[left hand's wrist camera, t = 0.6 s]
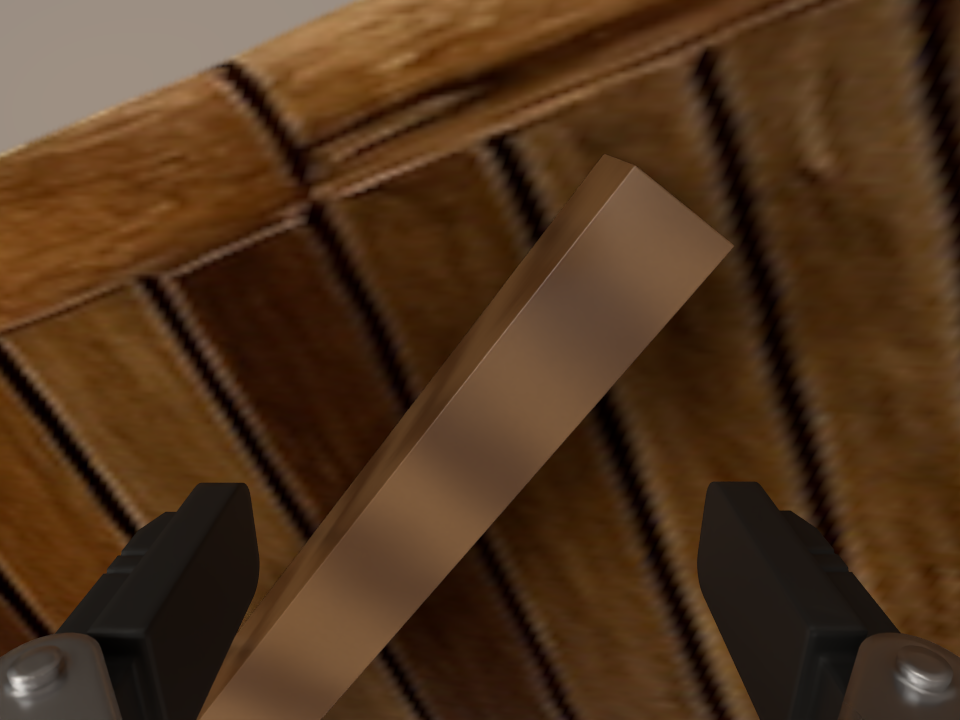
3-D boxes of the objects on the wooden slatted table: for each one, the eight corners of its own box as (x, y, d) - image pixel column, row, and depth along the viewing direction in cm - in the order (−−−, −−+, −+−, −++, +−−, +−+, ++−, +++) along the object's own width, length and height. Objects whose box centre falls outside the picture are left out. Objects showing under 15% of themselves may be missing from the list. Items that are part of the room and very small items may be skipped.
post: (604, 153, 28) (635, 164, 22) (685, 218, 29) (735, 246, 23) (71, 849, 44) (10, 960, 38) (136, 877, 45) (86, 989, 39)
